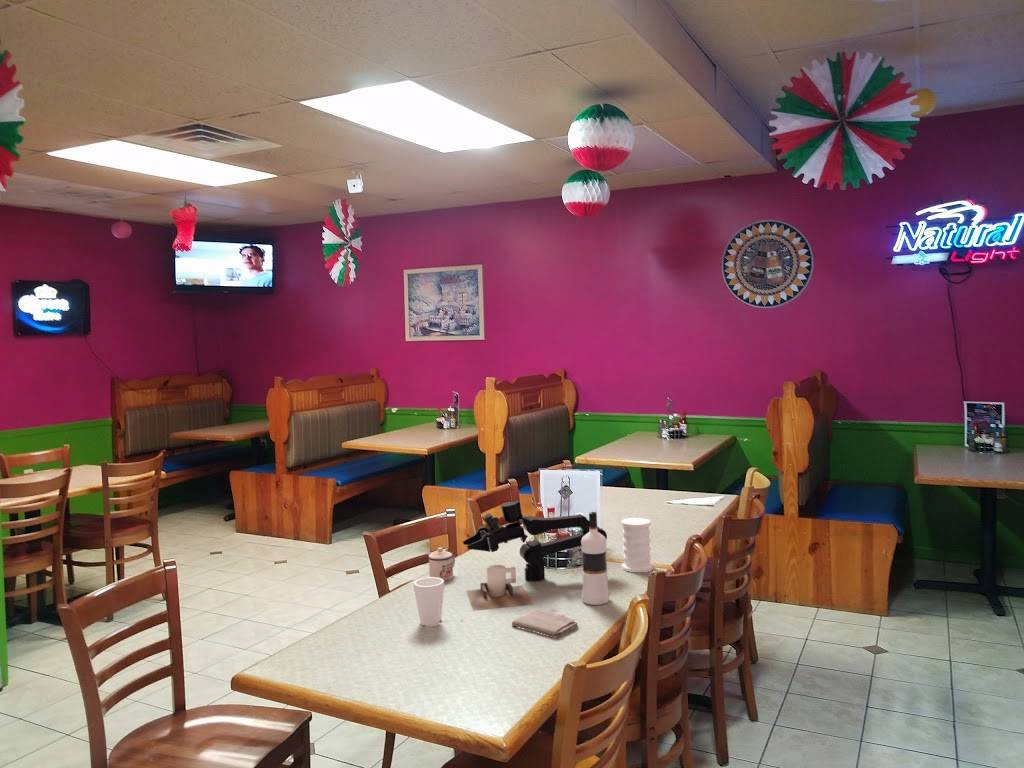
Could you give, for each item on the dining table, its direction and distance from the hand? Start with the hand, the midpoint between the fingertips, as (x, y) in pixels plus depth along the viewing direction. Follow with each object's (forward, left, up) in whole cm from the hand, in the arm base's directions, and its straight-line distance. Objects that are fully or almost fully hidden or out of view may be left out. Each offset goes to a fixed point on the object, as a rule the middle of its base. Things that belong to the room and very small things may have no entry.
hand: (465, 545), depth 268 cm
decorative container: (-65, -6, -16) cm, 67 cm away
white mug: (-11, +10, -15) cm, 21 cm away
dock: (-9, +14, -16) cm, 23 cm away
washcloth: (-19, +41, -17) cm, 48 cm away
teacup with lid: (+7, -16, -16) cm, 24 cm away
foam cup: (+15, +28, -16) cm, 36 cm away
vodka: (-40, +24, -16) cm, 50 cm away
